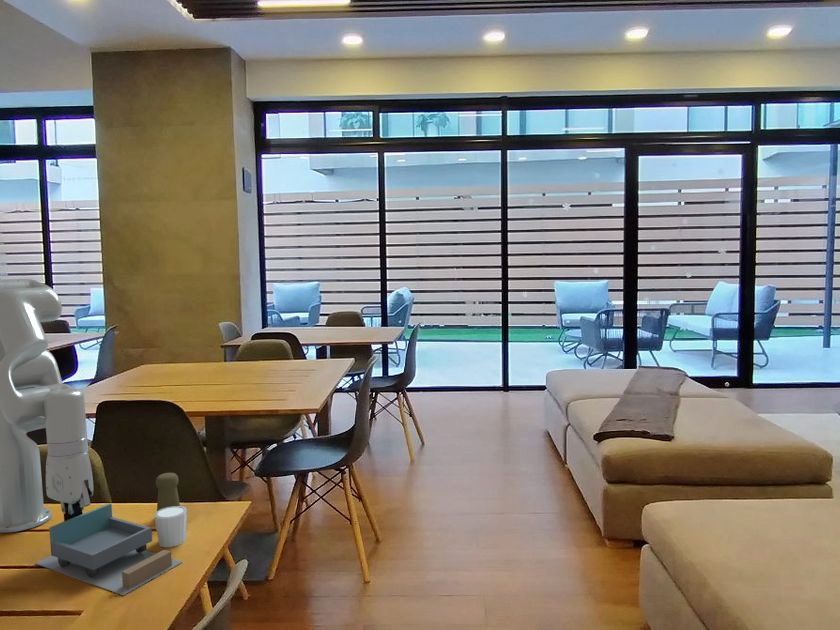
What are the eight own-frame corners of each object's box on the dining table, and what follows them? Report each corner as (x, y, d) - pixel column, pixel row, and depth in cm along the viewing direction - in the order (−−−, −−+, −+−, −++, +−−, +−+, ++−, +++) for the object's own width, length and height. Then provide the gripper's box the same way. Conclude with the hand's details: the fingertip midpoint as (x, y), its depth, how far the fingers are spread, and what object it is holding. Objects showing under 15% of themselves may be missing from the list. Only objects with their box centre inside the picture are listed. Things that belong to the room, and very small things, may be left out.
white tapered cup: (177, 549, 135) (175, 519, 134) (149, 547, 136) (147, 516, 136) (194, 535, 142) (193, 506, 141) (167, 533, 143) (166, 504, 142)
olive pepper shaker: (176, 522, 149) (173, 478, 148) (151, 522, 149) (148, 479, 148) (186, 512, 155) (183, 469, 154) (162, 512, 155) (159, 470, 154)
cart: (52, 566, 127) (49, 527, 126) (111, 539, 139) (109, 503, 138) (94, 581, 121) (91, 540, 120) (152, 551, 133) (150, 514, 132)
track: (35, 563, 130) (33, 549, 129) (96, 536, 142) (95, 523, 142) (123, 595, 117) (122, 579, 116) (182, 562, 129) (181, 548, 129)
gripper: (29, 447, 132) (36, 529, 134) (72, 456, 125) (79, 543, 127) (63, 438, 139) (69, 516, 140) (106, 446, 132) (112, 528, 134)
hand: (74, 529), depth 134 cm, fingers closed
